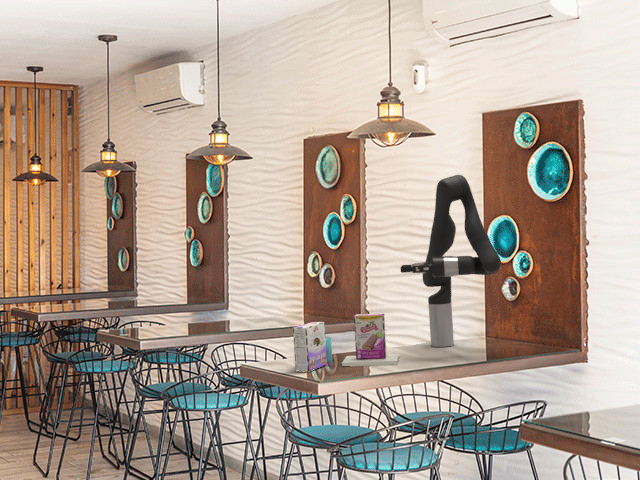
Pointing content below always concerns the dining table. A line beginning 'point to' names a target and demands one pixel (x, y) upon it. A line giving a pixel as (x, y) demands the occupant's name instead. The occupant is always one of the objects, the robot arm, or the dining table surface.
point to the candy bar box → (370, 336)
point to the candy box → (310, 346)
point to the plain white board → (371, 361)
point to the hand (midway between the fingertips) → (401, 268)
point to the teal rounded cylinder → (329, 349)
